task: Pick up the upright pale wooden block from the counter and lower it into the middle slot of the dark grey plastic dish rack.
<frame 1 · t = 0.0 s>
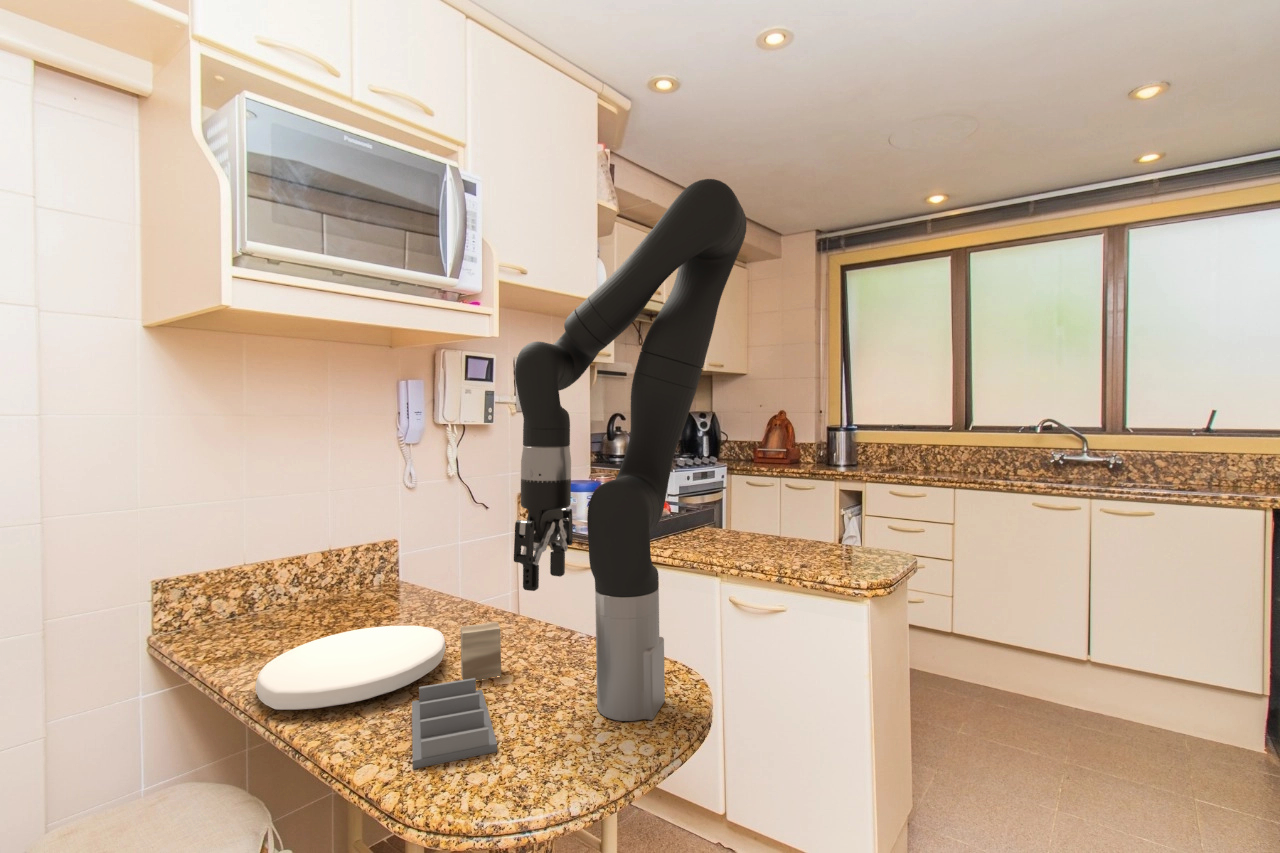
hand: (544, 582, 92), 17 cm above the counter, tool pointing down, fingers open, 8 cm apart
rack: (451, 728, 83), on the counter
plate: (357, 681, 100), on the counter
block: (481, 676, 100), on the counter
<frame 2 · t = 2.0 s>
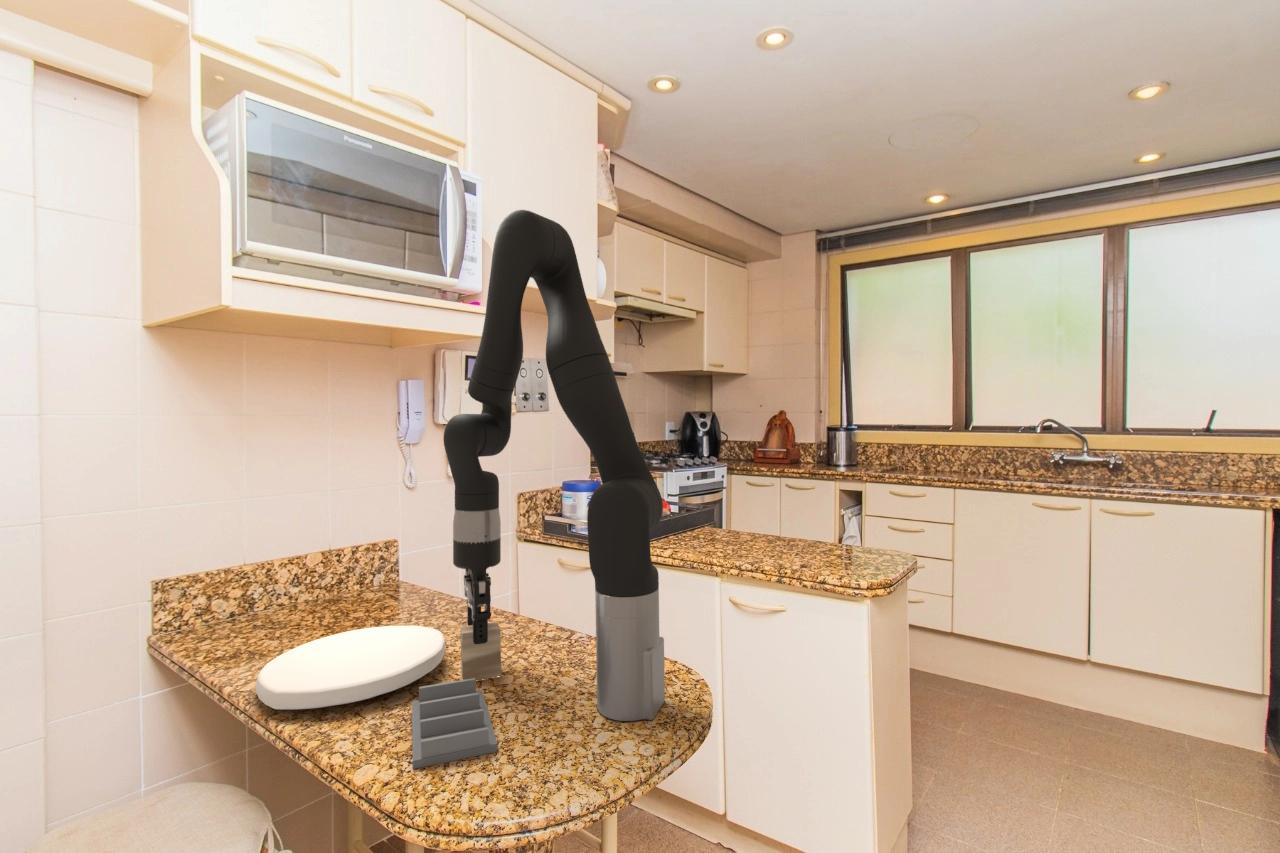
hand: (477, 634, 100), 7 cm above the counter, tool pointing down, fingers open, 8 cm apart
nothing on the counter moved.
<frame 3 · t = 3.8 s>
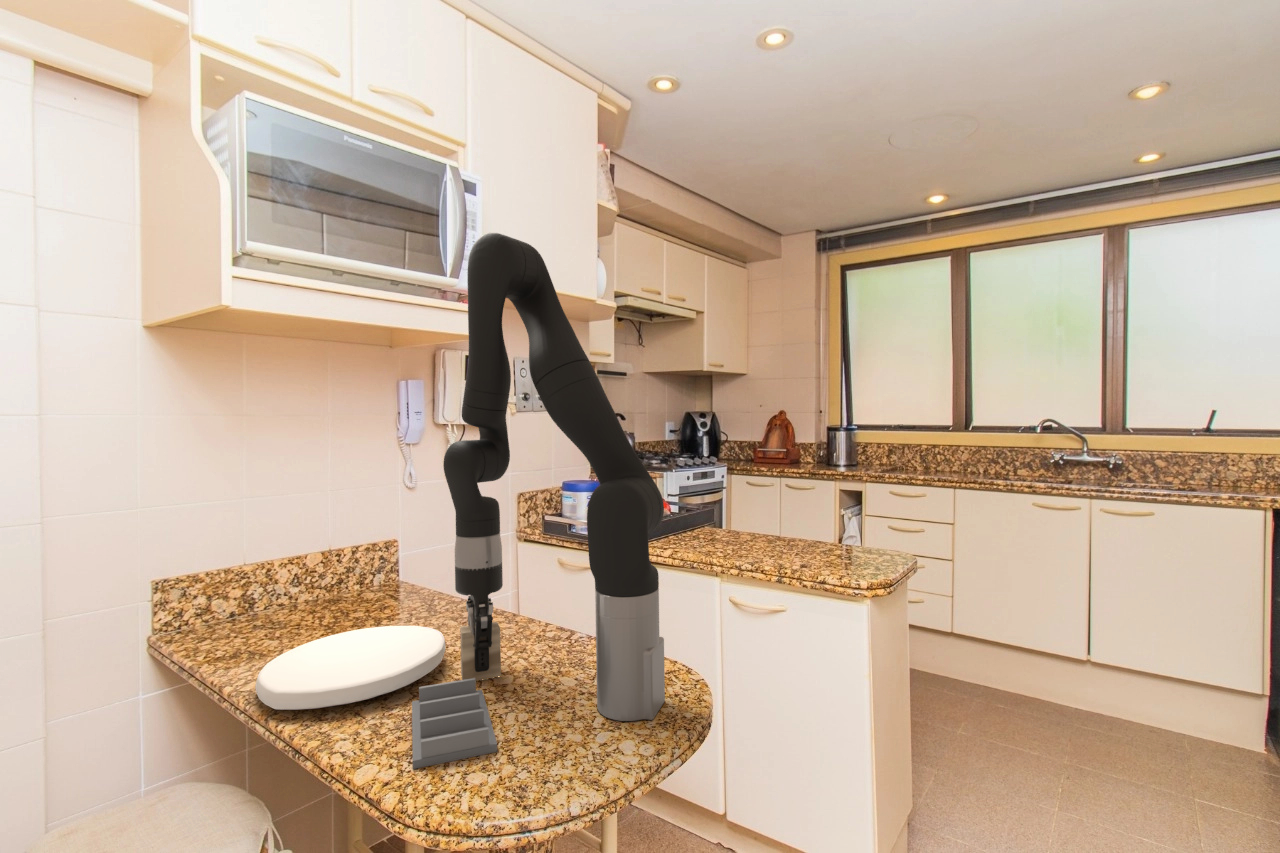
hand: (480, 665, 100), 2 cm above the counter, tool pointing down, fingers closed on block, 3 cm apart
block: (480, 675, 100), on the counter, touching gripper
everything else where it was.
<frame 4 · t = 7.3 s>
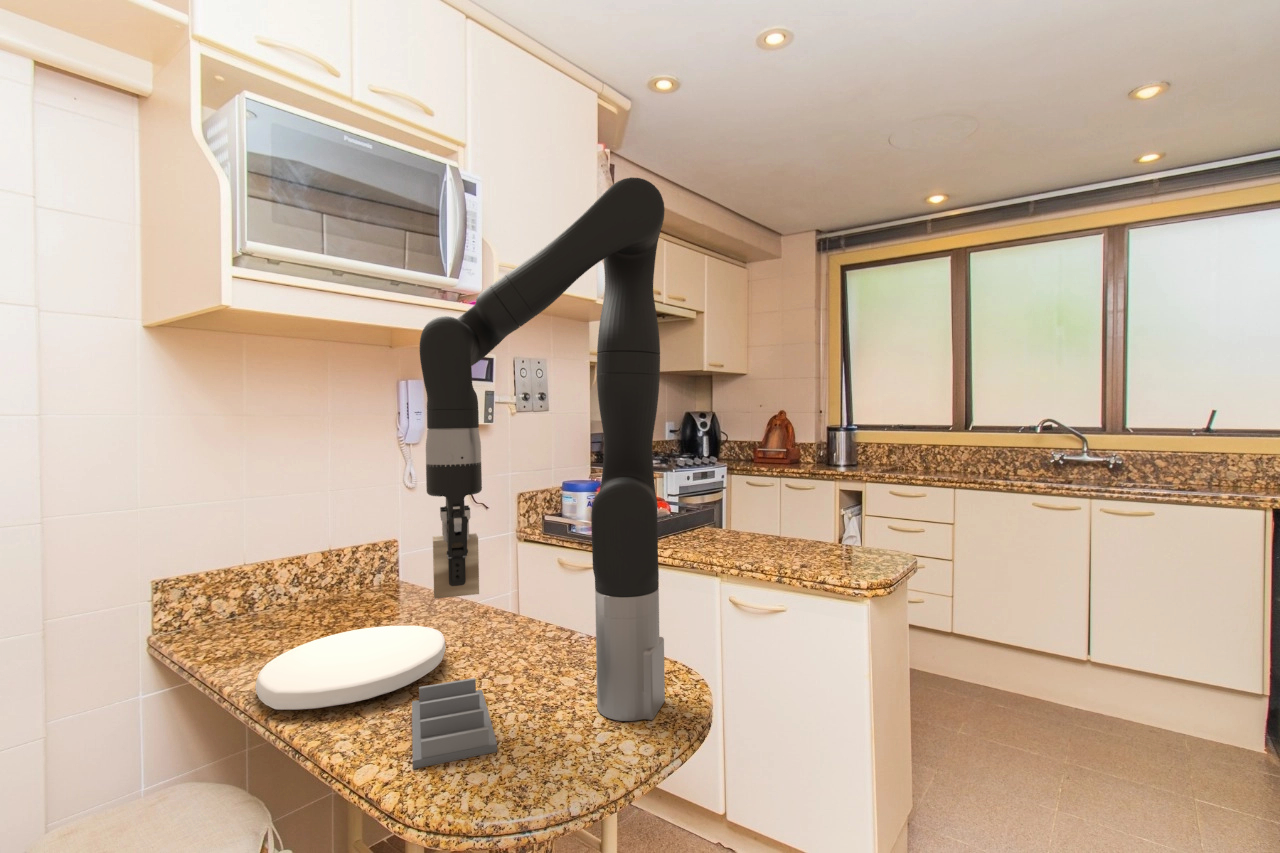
hand: (456, 580, 86), 19 cm above the counter, tool pointing down, fingers closed on block, 3 cm apart
block: (456, 593, 86), point 17 cm above the counter, touching gripper
everything else where it was.
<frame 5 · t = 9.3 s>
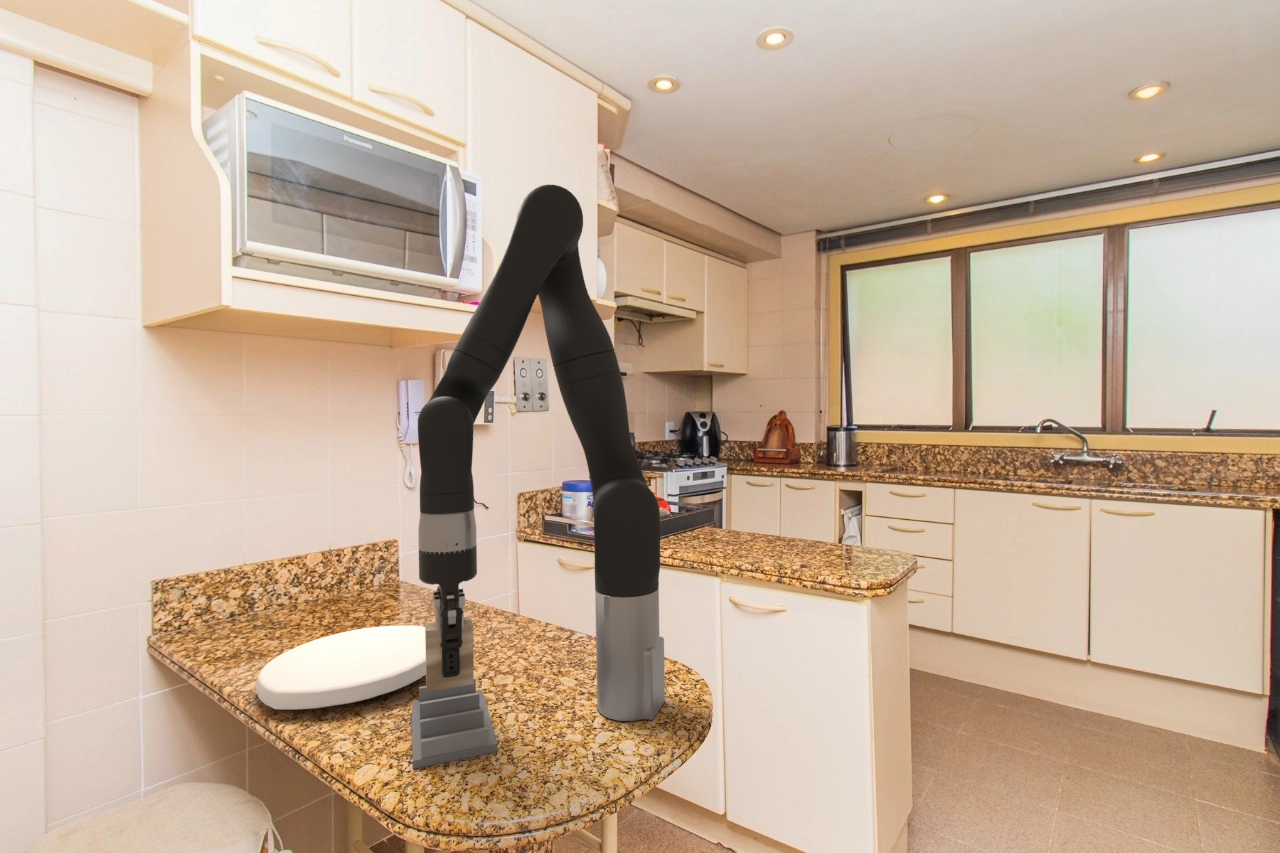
hand: (450, 669, 83), 8 cm above the counter, tool pointing down, fingers closed on block, 3 cm apart
block: (449, 682, 83), point 6 cm above the counter, touching gripper
everything else where it was.
when the fingers open (4 cm above the counter, at t = 10.8 s): block drops 1 cm, resting on rack.
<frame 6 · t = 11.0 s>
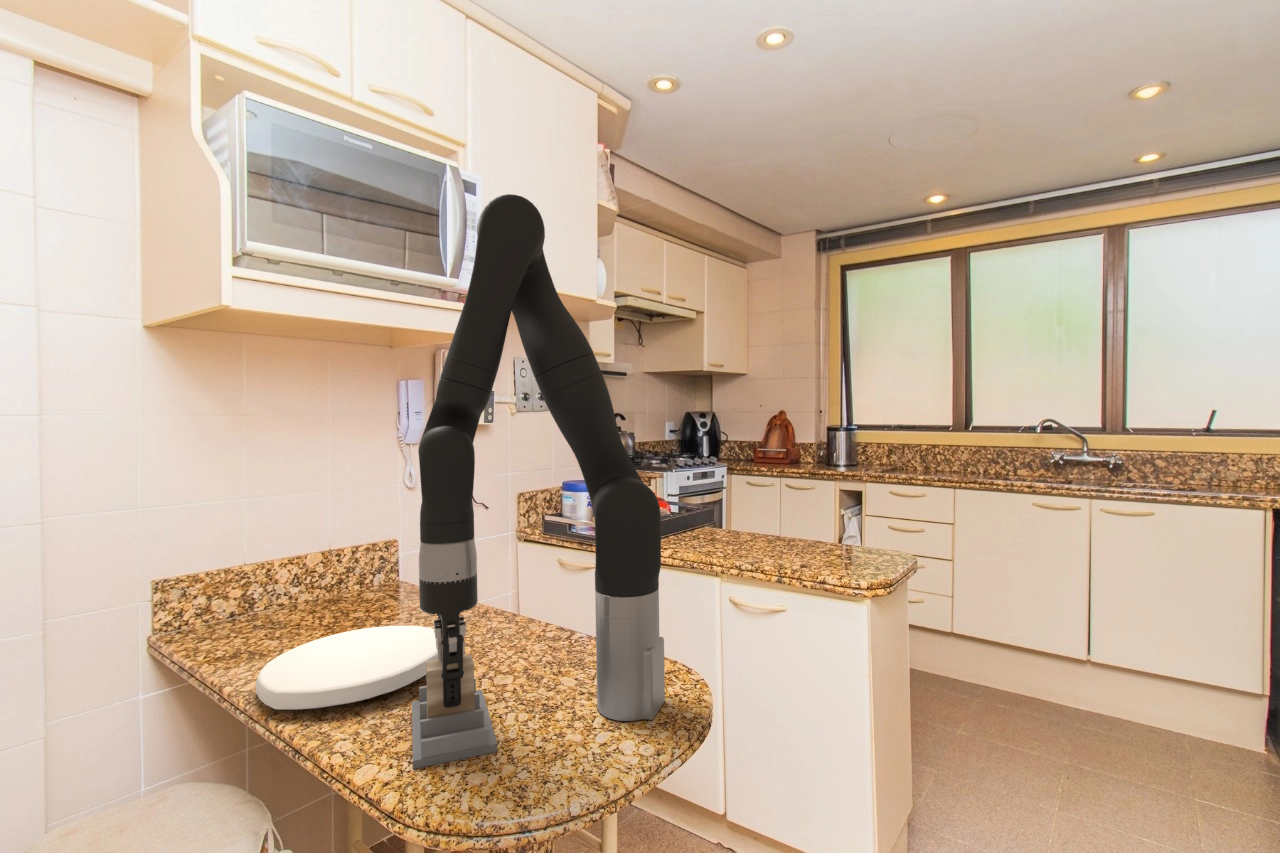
hand: (450, 696, 83), 4 cm above the counter, tool pointing down, fingers open, 5 cm apart
block: (451, 721, 83), point 1 cm above the counter, touching rack
everything else where it was.
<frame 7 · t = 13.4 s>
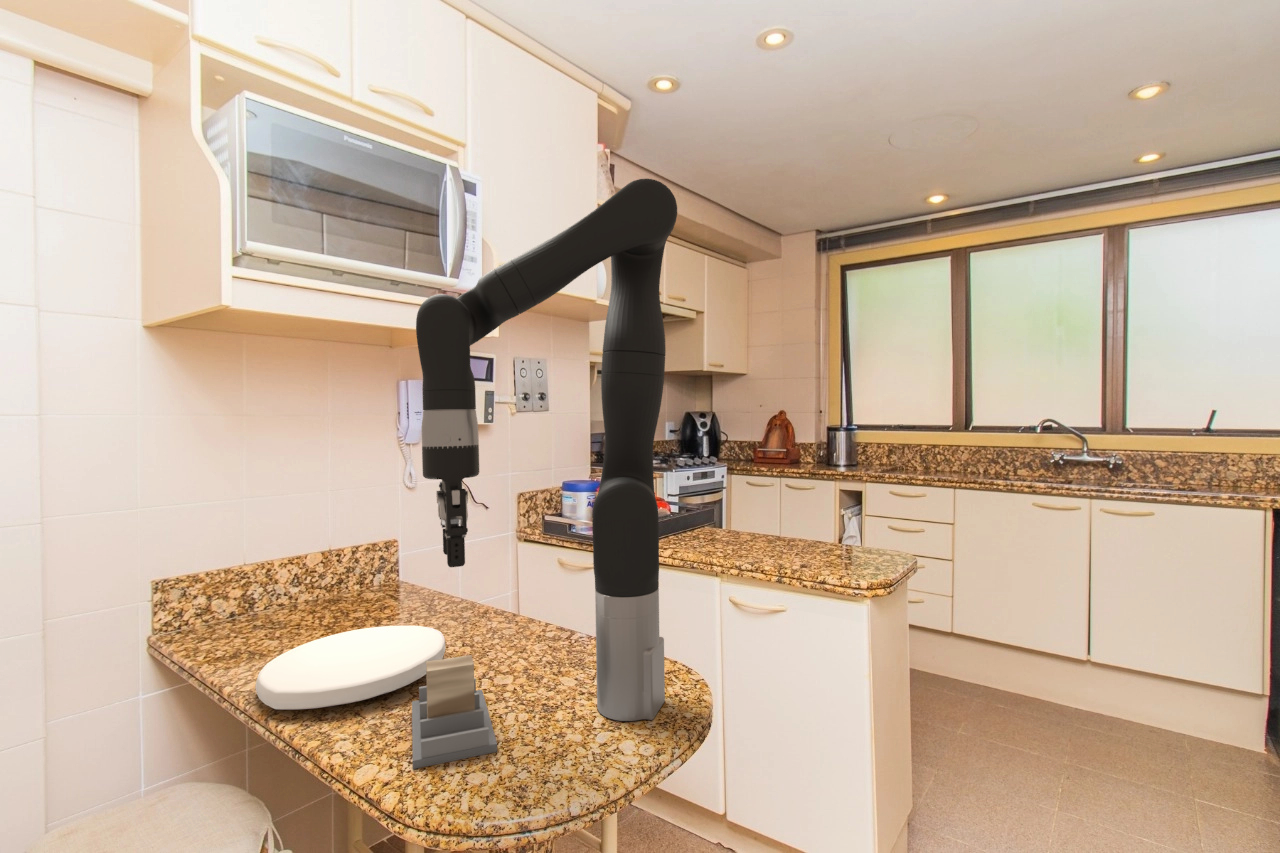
hand: (453, 559, 84), 23 cm above the counter, tool pointing down, fingers open, 8 cm apart
nothing on the counter moved.
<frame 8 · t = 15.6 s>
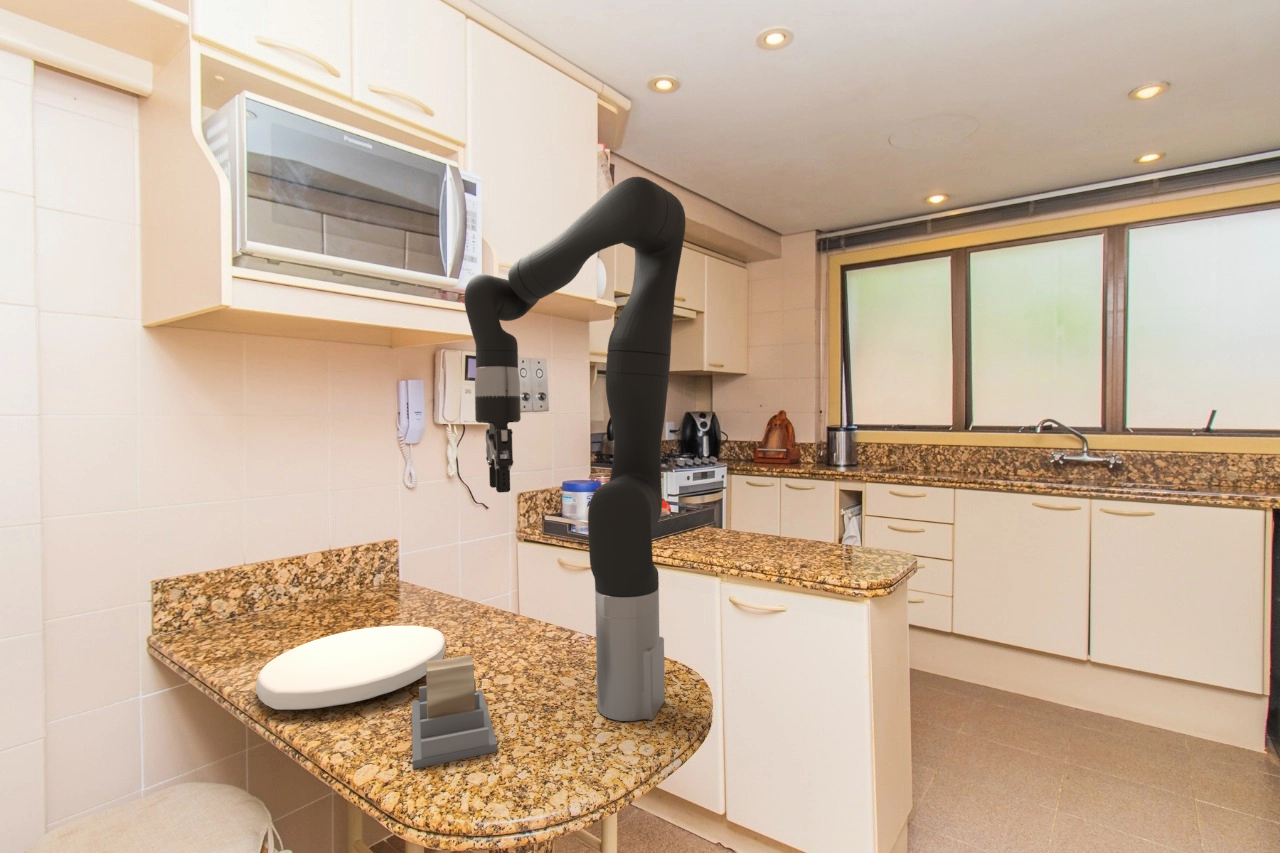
hand: (499, 489, 104), 30 cm above the counter, tool pointing down, fingers open, 8 cm apart
nothing on the counter moved.
at the end: block 0.1 cm off-centre on the rack, point 1.0 cm above the rack's base; block tilted 0°; the gripper is holding nothing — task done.
